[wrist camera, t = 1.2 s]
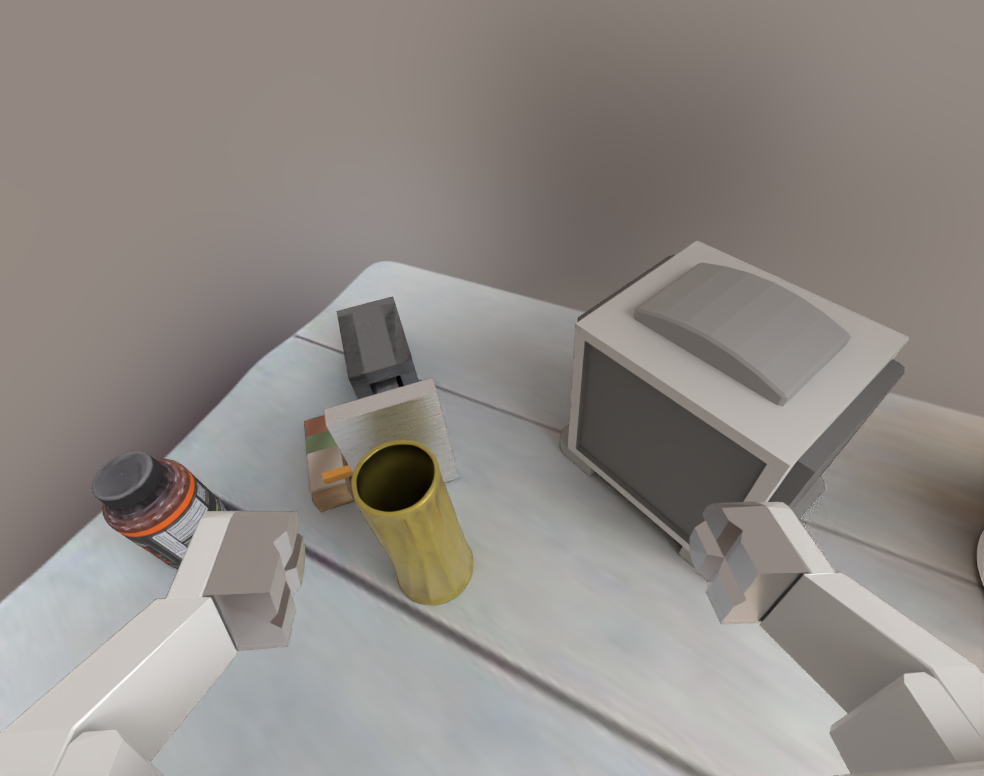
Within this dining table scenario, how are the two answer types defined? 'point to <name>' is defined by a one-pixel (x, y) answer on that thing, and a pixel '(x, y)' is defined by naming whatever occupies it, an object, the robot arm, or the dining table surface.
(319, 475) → the rail
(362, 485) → the vase
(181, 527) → the supplement bottle
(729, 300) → the grey box
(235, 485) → the dining table surface
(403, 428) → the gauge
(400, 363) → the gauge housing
